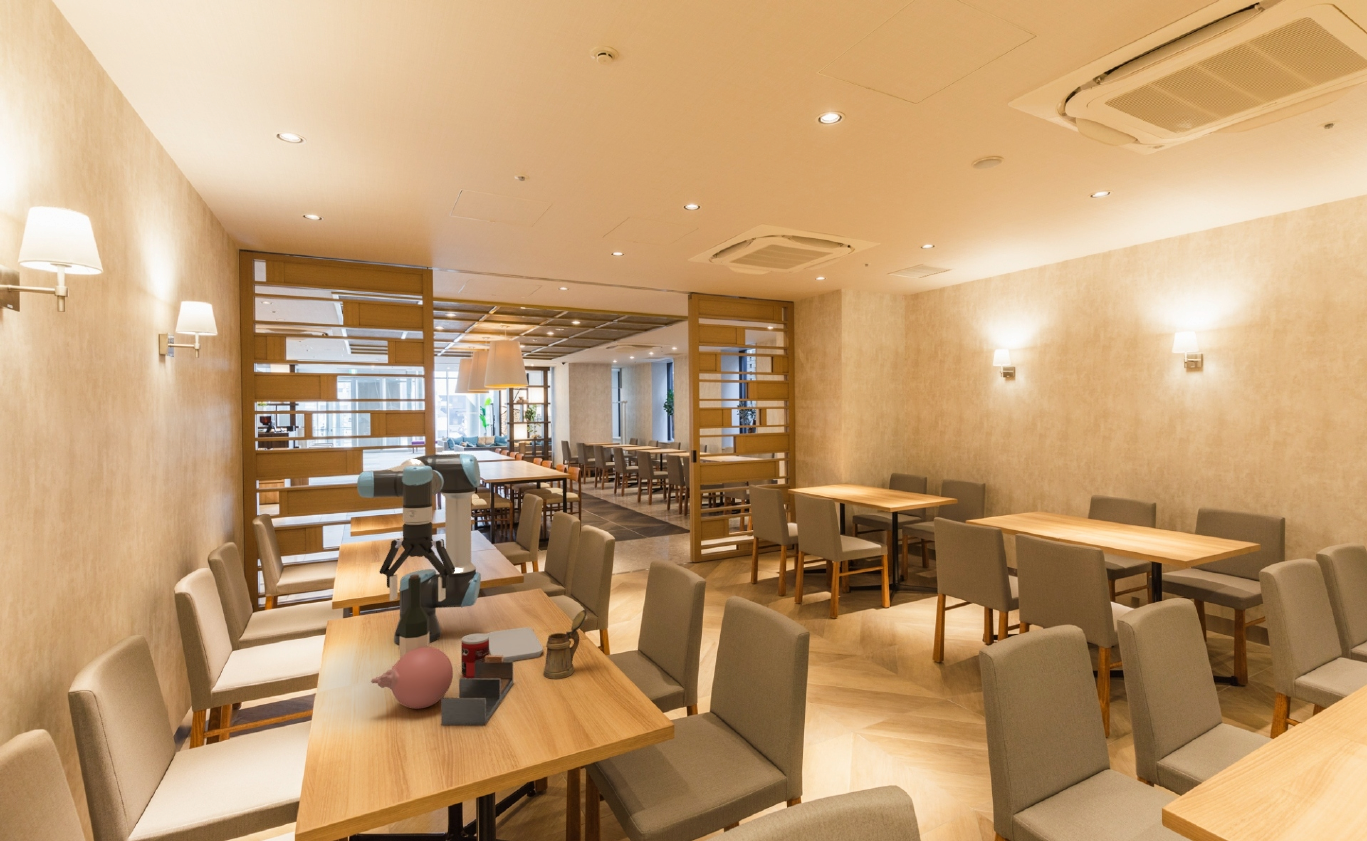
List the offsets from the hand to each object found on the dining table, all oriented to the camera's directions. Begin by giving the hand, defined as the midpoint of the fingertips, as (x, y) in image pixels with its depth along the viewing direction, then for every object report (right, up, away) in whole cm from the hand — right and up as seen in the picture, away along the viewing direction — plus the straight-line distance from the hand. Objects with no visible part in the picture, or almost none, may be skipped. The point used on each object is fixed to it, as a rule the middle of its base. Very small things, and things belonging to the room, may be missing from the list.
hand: (417, 599), depth 168 cm
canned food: (+10, -28, +17) cm, 34 cm away
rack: (+18, -27, -2) cm, 33 cm away
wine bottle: (-8, -28, +16) cm, 33 cm away
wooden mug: (+37, -28, +19) cm, 50 cm away
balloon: (+1, -28, -5) cm, 28 cm away
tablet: (+15, -28, +39) cm, 50 cm away
